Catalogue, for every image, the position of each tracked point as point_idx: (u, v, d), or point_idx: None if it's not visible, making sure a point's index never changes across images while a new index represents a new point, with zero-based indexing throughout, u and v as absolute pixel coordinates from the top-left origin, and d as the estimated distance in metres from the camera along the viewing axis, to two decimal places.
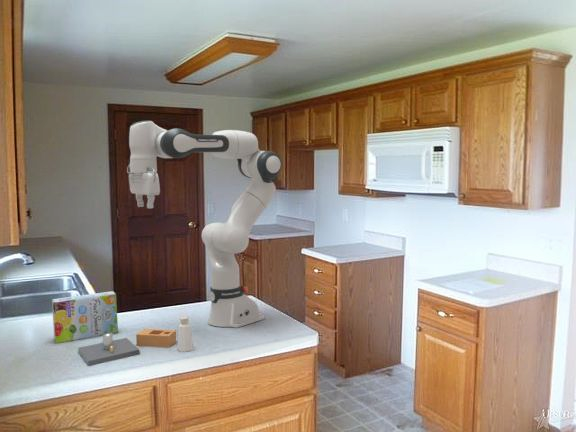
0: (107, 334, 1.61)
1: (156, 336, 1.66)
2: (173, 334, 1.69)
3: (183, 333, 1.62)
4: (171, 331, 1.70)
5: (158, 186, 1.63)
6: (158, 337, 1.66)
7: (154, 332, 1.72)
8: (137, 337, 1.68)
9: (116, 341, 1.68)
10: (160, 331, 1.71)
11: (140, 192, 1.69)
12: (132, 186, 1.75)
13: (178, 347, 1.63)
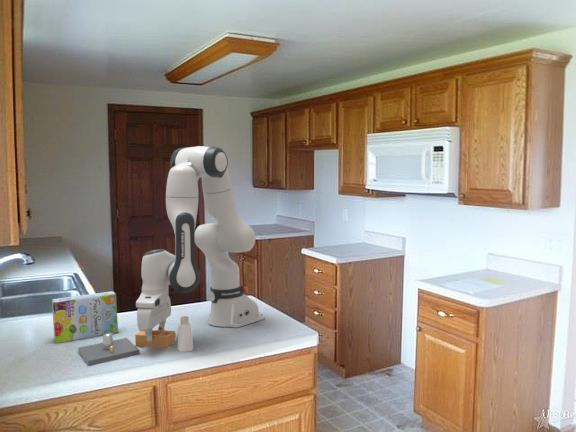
0: (107, 334, 1.61)
1: (155, 337, 1.66)
2: (172, 335, 1.69)
3: (183, 333, 1.62)
4: (170, 332, 1.70)
5: None
6: (157, 338, 1.66)
7: (153, 332, 1.71)
8: (136, 337, 1.67)
9: (116, 341, 1.68)
10: (159, 332, 1.71)
11: (161, 320, 1.69)
12: (151, 321, 1.60)
13: (178, 347, 1.63)
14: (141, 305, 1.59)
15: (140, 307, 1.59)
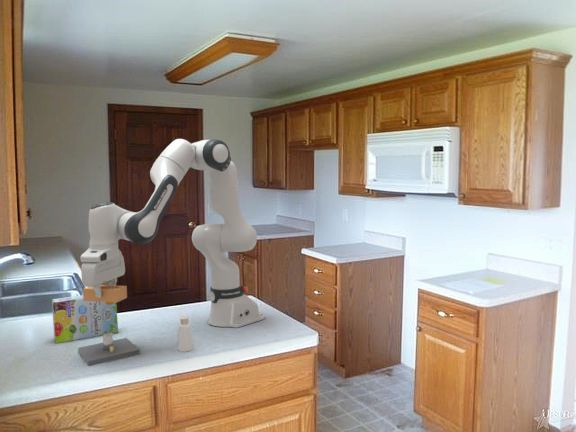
0: (107, 334, 1.61)
1: (104, 290, 1.56)
2: (123, 289, 1.59)
3: (183, 333, 1.62)
4: (121, 286, 1.60)
5: None
6: (106, 291, 1.56)
7: (103, 288, 1.62)
8: (84, 292, 1.58)
9: (116, 341, 1.68)
10: (110, 287, 1.61)
11: (111, 277, 1.60)
12: (97, 277, 1.52)
13: (178, 347, 1.63)
14: (85, 259, 1.50)
15: (85, 261, 1.51)
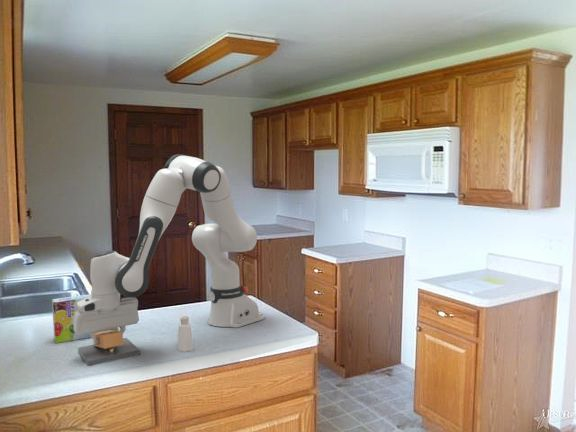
0: None
1: (99, 336, 1.58)
2: (115, 335, 1.57)
3: (183, 333, 1.62)
4: (116, 332, 1.58)
5: None
6: (100, 337, 1.58)
7: (111, 333, 1.64)
8: None
9: None
10: (114, 332, 1.62)
11: (112, 326, 1.60)
12: (85, 325, 1.55)
13: (178, 347, 1.63)
14: (77, 307, 1.56)
15: (77, 308, 1.56)
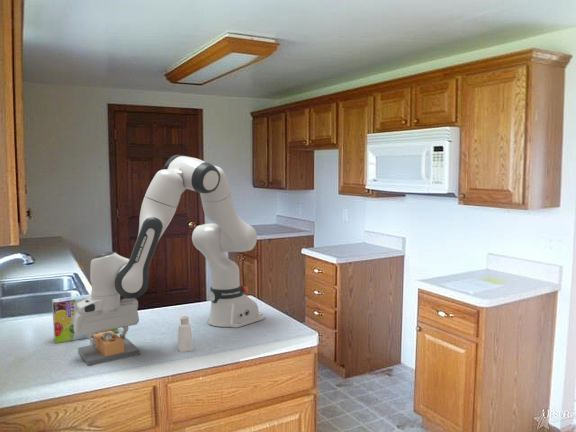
0: (107, 334, 1.61)
1: (100, 341, 1.58)
2: (116, 343, 1.57)
3: (183, 333, 1.62)
4: (118, 340, 1.58)
5: None
6: (101, 343, 1.57)
7: None
8: (93, 337, 1.63)
9: None
10: (115, 337, 1.62)
11: (112, 327, 1.60)
12: (85, 326, 1.55)
13: (178, 347, 1.63)
14: (77, 308, 1.56)
15: (77, 309, 1.56)
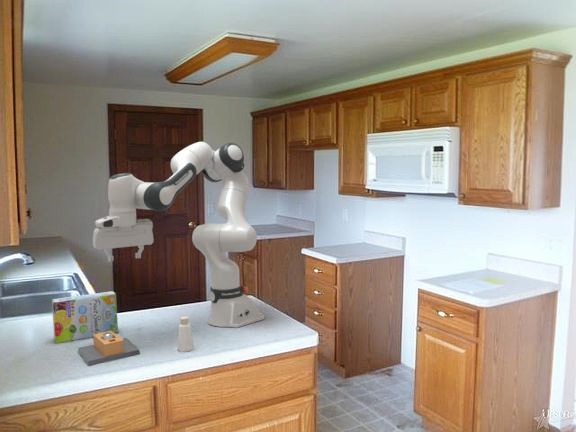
0: (107, 334, 1.61)
1: (100, 341, 1.58)
2: (116, 343, 1.57)
3: (183, 333, 1.62)
4: (118, 340, 1.58)
5: None
6: (101, 343, 1.57)
7: None
8: (93, 337, 1.63)
9: None
10: (115, 337, 1.62)
11: (128, 244, 1.69)
12: (103, 241, 1.64)
13: (178, 347, 1.63)
14: (96, 224, 1.65)
15: None
